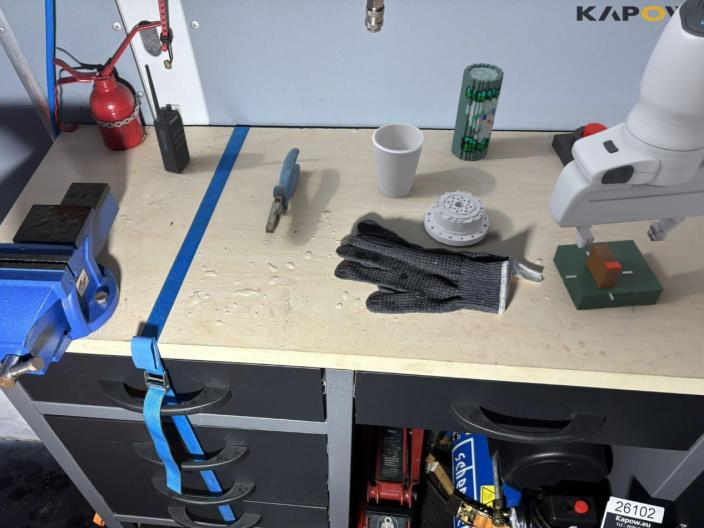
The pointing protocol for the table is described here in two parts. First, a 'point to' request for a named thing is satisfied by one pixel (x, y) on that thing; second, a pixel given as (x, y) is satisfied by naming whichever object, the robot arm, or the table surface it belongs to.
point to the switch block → (566, 144)
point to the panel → (629, 288)
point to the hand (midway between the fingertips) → (618, 241)
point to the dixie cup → (397, 157)
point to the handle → (603, 266)
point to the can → (476, 110)
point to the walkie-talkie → (169, 133)
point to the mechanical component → (457, 219)
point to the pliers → (284, 189)
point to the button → (593, 129)
